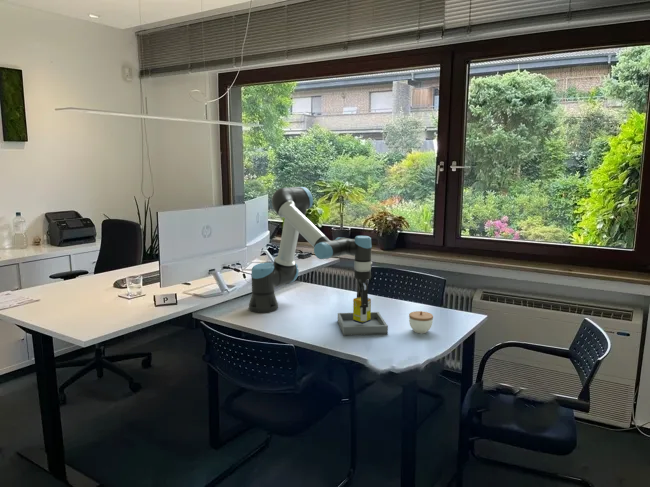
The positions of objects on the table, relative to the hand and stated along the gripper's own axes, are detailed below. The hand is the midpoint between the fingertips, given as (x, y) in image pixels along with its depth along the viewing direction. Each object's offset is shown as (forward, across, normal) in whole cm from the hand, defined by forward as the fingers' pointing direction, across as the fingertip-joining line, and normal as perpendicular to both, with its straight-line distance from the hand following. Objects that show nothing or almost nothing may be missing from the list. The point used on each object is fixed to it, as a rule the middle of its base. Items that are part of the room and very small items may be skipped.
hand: (361, 317), depth 227 cm
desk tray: (+5, 0, 0) cm, 5 cm away
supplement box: (+2, 0, 0) cm, 2 cm away
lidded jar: (+5, -7, -26) cm, 27 cm away
